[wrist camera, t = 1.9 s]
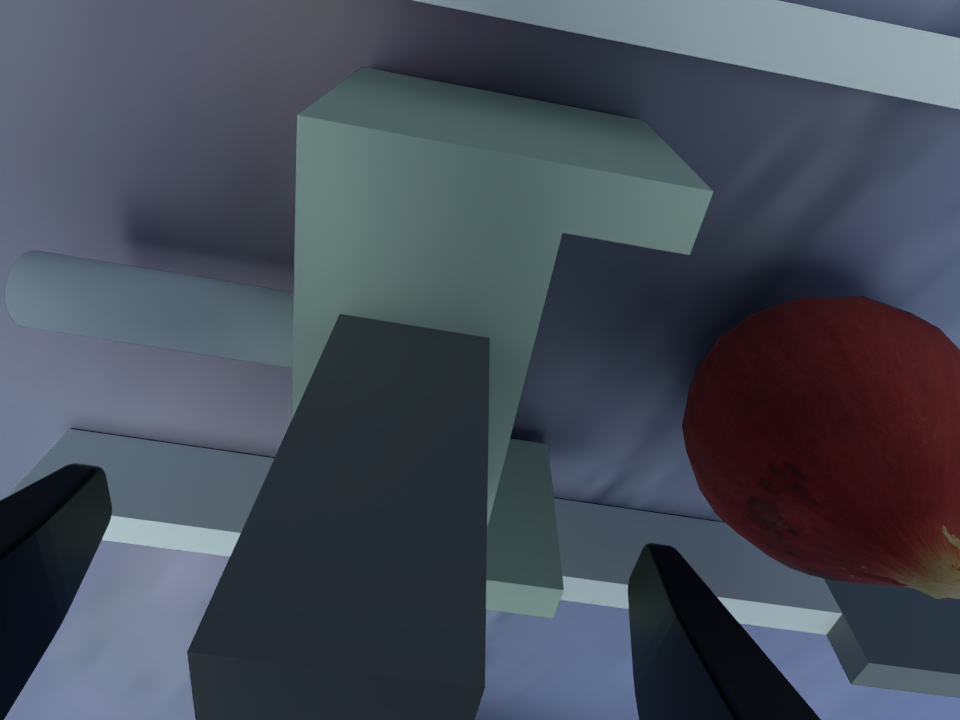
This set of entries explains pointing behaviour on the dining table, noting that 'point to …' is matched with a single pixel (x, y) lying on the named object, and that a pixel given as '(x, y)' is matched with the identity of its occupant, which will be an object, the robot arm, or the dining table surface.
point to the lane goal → (598, 528)
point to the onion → (835, 441)
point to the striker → (391, 386)
